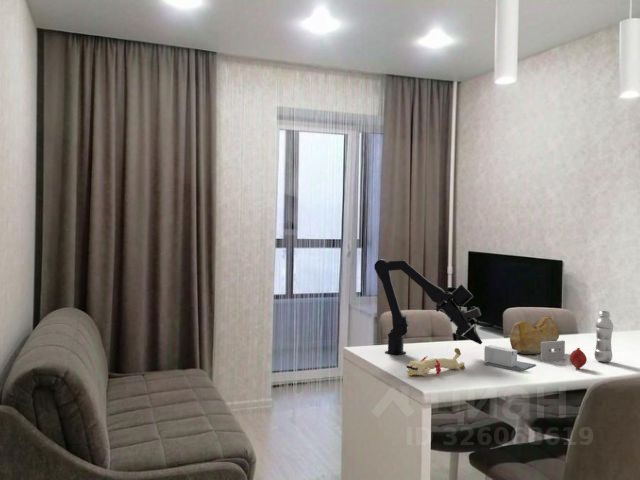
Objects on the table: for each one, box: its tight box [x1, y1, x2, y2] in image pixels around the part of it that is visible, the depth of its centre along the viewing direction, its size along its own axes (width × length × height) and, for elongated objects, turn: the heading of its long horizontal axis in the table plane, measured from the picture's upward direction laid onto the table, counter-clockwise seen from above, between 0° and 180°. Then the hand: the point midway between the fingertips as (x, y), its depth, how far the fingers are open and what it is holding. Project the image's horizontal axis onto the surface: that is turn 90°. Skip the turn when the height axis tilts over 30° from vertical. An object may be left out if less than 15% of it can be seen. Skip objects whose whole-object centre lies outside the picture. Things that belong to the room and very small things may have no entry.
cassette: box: [540, 339, 566, 363], centre depth 225 cm, size 12×2×8 cm, turn 113°
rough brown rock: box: [509, 316, 560, 355], centre depth 243 cm, size 23×17×15 cm
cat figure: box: [406, 347, 466, 376], centre depth 202 cm, size 10×9×25 cm
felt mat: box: [484, 360, 537, 372], centre depth 216 cm, size 14×14×1 cm
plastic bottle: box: [593, 310, 614, 363], centre depth 225 cm, size 6×7×20 cm
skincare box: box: [483, 344, 518, 367], centre depth 216 cm, size 6×4×12 cm
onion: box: [569, 347, 587, 370], centre depth 212 cm, size 6×6×8 cm
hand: (481, 343), depth 223 cm, fingers closed
